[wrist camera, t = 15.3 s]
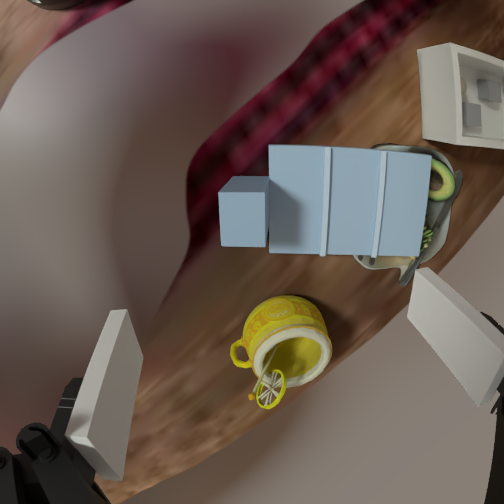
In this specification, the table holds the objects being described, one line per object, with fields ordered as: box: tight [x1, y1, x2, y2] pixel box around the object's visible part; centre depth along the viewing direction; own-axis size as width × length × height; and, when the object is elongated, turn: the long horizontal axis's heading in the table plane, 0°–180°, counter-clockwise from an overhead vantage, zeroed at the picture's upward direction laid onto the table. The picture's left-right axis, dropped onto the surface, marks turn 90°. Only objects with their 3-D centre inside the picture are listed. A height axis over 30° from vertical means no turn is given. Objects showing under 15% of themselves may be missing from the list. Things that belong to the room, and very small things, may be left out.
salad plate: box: [353, 143, 463, 286], centre depth 38 cm, size 19×18×5 cm
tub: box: [417, 43, 504, 149], centre depth 31 cm, size 12×18×7 cm, turn 95°
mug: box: [230, 295, 332, 409], centre depth 38 cm, size 13×11×12 cm
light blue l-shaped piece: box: [218, 144, 432, 258], centre depth 32 cm, size 12×22×9 cm, turn 91°
